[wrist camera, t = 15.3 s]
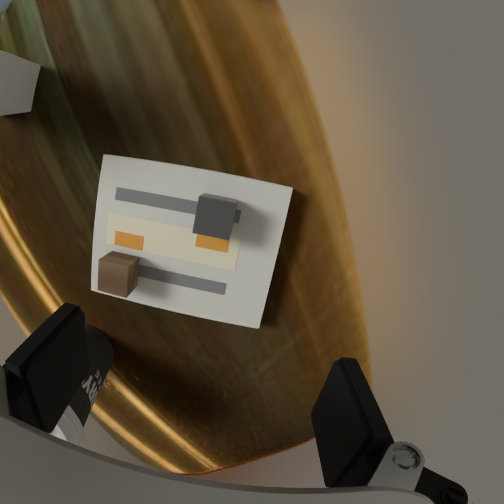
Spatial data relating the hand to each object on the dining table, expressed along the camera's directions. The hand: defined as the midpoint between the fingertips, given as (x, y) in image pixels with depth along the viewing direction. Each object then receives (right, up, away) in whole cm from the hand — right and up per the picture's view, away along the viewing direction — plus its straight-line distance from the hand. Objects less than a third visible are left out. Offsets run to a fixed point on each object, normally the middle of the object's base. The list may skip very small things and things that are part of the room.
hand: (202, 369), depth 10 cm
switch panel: (-5, +5, +20) cm, 21 cm away
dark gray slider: (-1, +7, +17) cm, 18 cm away
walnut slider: (-11, +2, +18) cm, 21 cm away
